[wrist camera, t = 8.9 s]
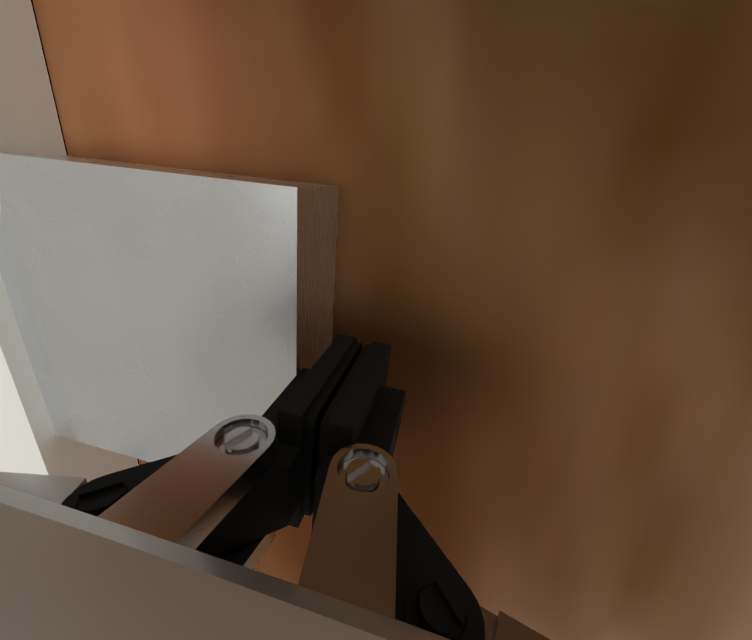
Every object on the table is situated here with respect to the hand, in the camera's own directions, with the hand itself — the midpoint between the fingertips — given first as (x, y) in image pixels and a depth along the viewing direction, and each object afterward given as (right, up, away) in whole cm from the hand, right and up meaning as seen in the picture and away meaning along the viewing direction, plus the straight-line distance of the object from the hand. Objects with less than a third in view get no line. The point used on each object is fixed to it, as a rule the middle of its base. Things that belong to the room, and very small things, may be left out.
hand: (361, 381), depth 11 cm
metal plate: (-6, +2, +2) cm, 7 cm away
